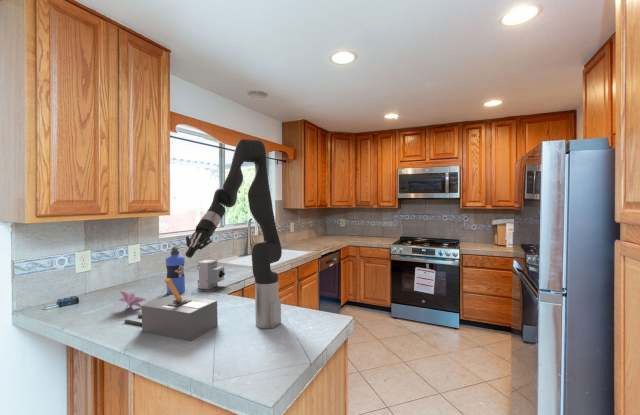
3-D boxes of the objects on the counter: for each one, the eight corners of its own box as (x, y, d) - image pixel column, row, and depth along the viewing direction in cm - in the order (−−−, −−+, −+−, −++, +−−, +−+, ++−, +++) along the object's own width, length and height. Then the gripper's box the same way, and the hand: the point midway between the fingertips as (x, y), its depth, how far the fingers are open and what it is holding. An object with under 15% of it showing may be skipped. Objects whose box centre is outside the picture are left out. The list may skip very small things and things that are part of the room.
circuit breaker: (220, 289, 168) (219, 263, 168) (197, 288, 171) (197, 262, 170) (227, 285, 175) (226, 260, 175) (205, 284, 178) (204, 259, 178)
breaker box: (217, 325, 118) (217, 297, 118) (190, 341, 105) (189, 309, 105) (147, 313, 133) (146, 288, 132) (115, 326, 120) (114, 297, 119)
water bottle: (189, 290, 167) (188, 246, 166) (176, 295, 158) (175, 248, 157) (175, 289, 169) (174, 245, 169) (162, 294, 160) (161, 248, 160)
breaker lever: (183, 300, 116) (170, 278, 111) (181, 303, 115) (168, 280, 110) (179, 300, 117) (166, 278, 112) (177, 302, 116) (164, 280, 111)
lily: (147, 313, 136) (152, 292, 140) (120, 310, 127) (126, 288, 132) (133, 317, 141) (138, 296, 146) (106, 314, 132) (112, 292, 137)
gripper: (192, 218, 131) (170, 250, 120) (216, 218, 126) (195, 251, 115) (201, 229, 136) (180, 261, 125) (225, 229, 131) (205, 262, 120)
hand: (188, 256), depth 120 cm, fingers closed
